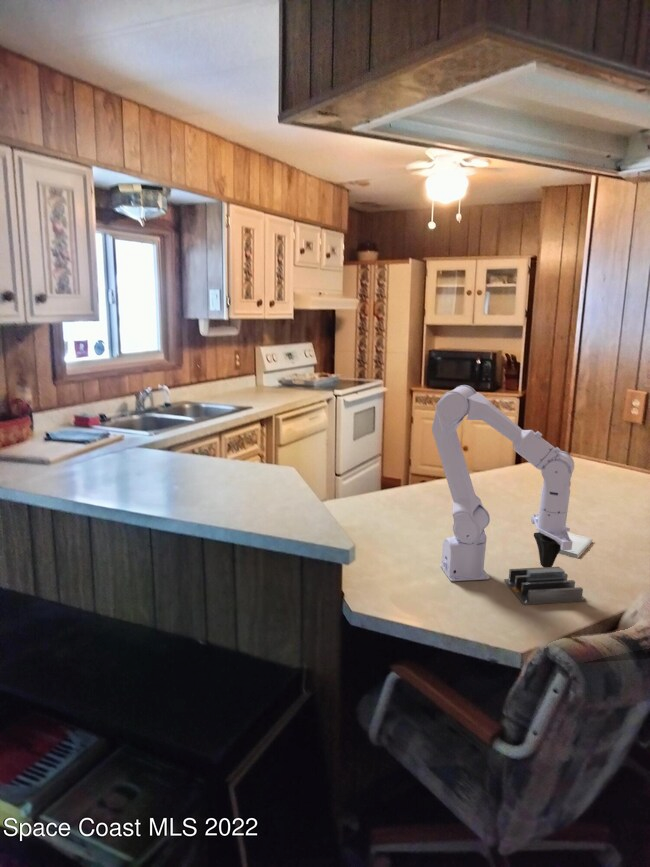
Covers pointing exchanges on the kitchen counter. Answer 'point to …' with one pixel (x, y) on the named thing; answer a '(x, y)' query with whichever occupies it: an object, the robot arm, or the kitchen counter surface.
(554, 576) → the panel
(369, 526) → the kitchen counter surface
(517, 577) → the slot rack
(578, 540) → the hard drive
